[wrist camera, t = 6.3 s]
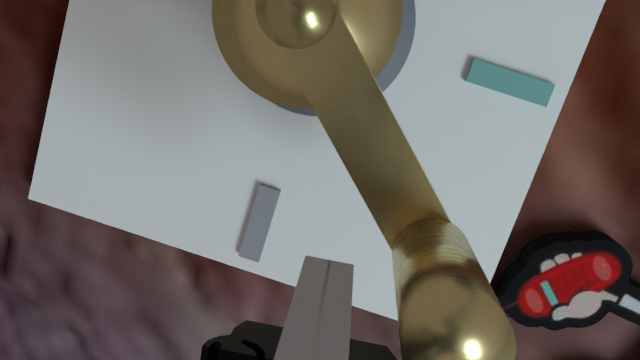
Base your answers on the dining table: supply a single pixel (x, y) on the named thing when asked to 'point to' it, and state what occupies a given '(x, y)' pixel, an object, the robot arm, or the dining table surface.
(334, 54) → the brass lever knob
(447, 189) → the post board
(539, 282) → the sign
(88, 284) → the dining table surface
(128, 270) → the dining table surface
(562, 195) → the dining table surface
